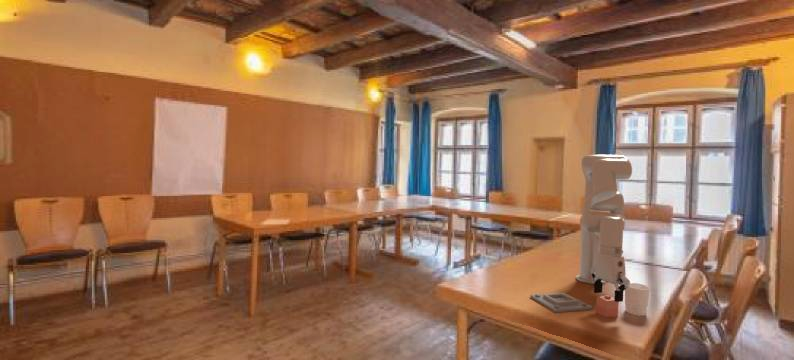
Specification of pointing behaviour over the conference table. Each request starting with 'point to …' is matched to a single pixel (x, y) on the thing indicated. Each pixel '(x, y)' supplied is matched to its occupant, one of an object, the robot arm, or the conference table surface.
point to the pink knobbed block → (607, 306)
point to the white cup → (636, 299)
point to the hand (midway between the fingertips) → (607, 296)
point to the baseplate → (560, 302)
